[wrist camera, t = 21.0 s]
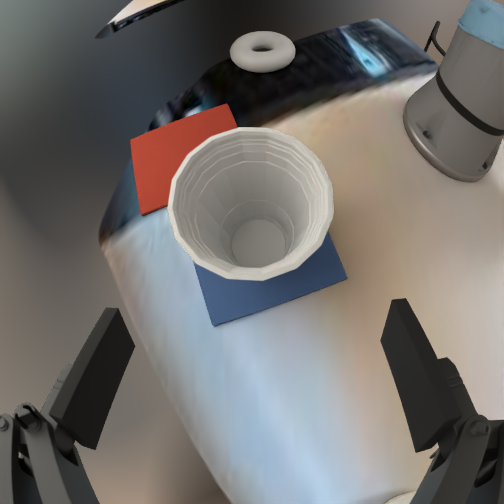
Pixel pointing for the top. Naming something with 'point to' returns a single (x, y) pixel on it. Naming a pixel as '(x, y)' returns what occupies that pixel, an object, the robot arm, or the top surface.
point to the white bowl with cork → (402, 498)
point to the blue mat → (269, 286)
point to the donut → (262, 61)
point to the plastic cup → (250, 203)
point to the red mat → (172, 153)
